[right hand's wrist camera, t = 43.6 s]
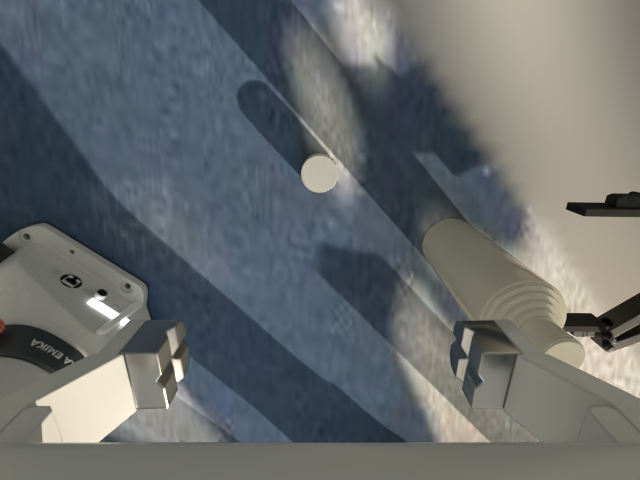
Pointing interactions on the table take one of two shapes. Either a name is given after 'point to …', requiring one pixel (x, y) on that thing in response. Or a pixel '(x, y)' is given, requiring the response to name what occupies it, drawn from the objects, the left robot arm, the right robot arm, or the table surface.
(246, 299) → the table surface
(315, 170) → the cap
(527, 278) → the bottle
